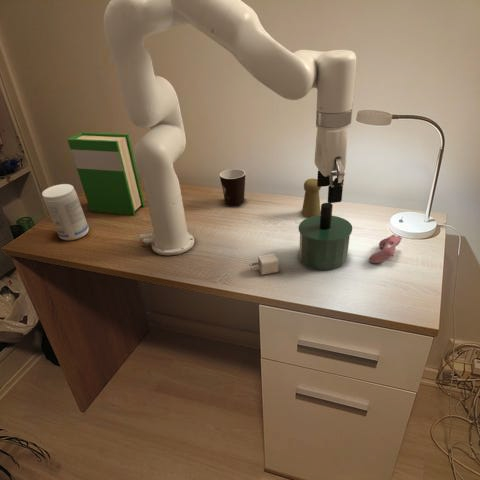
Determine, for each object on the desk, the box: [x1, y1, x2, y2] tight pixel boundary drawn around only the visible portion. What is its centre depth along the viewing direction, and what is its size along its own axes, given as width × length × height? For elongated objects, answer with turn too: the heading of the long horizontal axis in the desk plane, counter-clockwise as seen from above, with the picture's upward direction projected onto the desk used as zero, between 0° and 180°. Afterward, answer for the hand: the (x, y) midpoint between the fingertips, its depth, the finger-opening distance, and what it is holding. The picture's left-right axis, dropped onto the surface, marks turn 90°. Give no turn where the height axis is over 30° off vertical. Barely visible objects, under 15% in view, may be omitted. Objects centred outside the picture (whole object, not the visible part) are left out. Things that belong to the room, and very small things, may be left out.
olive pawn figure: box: [301, 178, 322, 219], centre depth 129 cm, size 6×6×11 cm
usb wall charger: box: [248, 252, 279, 276], centre depth 108 cm, size 4×7×4 cm, turn 102°
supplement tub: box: [41, 183, 90, 241], centre depth 128 cm, size 10×10×15 cm
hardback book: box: [67, 131, 146, 216], centre depth 137 cm, size 18×7×24 cm, turn 71°
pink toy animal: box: [368, 233, 403, 264], centre depth 109 cm, size 10×5×7 cm, turn 148°
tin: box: [298, 233, 351, 271], centre depth 110 cm, size 13×13×8 cm
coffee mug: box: [219, 168, 246, 207], centre depth 141 cm, size 12×9×10 cm
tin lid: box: [298, 202, 353, 242], centre depth 105 cm, size 14×14×7 cm
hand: (328, 193), depth 101 cm, fingers open, 9 cm apart
